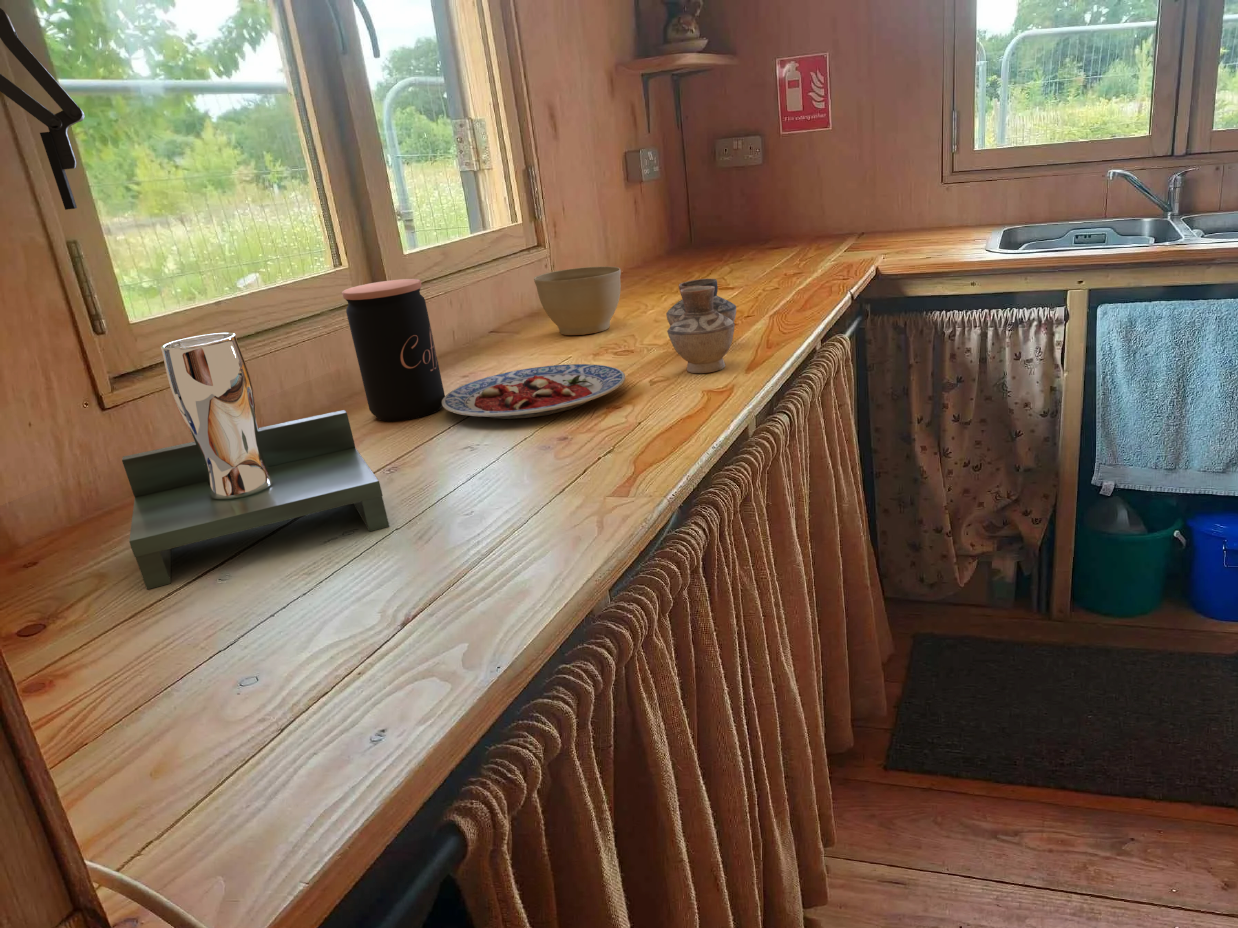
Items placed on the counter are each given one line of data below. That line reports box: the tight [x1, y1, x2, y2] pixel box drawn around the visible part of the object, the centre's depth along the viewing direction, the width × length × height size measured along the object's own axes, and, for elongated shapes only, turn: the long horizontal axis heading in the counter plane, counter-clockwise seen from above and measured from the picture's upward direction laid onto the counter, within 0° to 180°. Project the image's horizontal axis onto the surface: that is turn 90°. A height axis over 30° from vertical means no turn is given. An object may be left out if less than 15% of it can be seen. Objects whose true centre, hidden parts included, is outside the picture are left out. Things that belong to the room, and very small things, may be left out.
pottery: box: [666, 278, 737, 374], centre depth 149 cm, size 11×25×12 cm, turn 0°
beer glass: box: [160, 332, 274, 500], centre depth 94 cm, size 7×7×15 cm
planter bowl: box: [533, 265, 622, 336], centre depth 182 cm, size 16×16×11 cm
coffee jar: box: [341, 278, 446, 422], centre depth 137 cm, size 11×11×18 cm
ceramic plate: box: [442, 363, 626, 420], centre depth 137 cm, size 26×26×3 cm
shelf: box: [121, 409, 390, 590], centre depth 97 cm, size 16×22×9 cm
